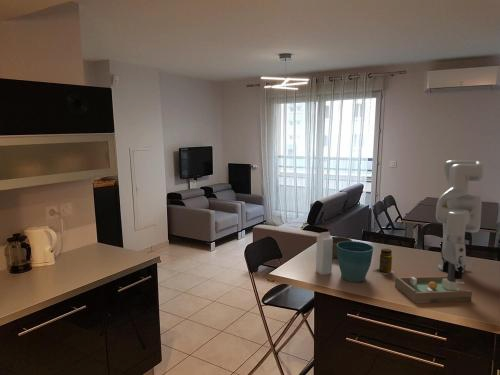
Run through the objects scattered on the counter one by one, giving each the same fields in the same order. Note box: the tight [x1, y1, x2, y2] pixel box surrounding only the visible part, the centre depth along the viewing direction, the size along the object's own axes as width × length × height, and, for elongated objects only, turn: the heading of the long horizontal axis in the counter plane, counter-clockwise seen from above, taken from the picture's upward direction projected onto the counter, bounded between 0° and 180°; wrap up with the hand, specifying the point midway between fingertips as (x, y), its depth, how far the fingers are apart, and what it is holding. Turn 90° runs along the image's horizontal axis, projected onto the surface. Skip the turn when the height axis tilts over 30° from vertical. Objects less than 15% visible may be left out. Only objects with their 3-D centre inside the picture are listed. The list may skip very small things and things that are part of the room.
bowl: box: [331, 236, 353, 259], centre depth 221 cm, size 17×18×10 cm
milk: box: [315, 231, 333, 276], centre depth 192 cm, size 6×6×22 cm
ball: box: [428, 281, 437, 290], centre depth 167 cm, size 4×4×4 cm
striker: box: [442, 262, 465, 290], centre depth 167 cm, size 9×5×13 cm, turn 95°
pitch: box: [394, 275, 473, 304], centre depth 167 cm, size 26×18×5 cm
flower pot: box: [337, 240, 375, 283], centre depth 184 cm, size 18×18×17 cm
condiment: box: [373, 248, 395, 276], centre depth 194 cm, size 7×8×12 cm
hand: (451, 275), depth 167 cm, fingers open, 7 cm apart
